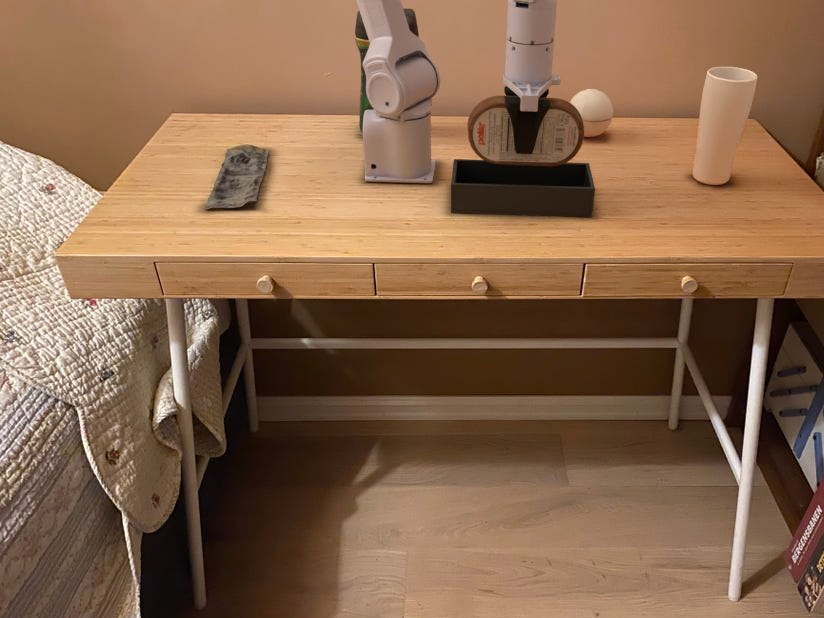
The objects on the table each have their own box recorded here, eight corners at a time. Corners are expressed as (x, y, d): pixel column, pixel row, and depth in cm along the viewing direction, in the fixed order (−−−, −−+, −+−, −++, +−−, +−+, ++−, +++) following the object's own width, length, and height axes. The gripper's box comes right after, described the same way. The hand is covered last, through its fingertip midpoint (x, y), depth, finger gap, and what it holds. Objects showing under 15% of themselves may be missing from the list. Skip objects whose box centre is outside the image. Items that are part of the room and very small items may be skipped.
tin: (580, 161, 105) (586, 96, 101) (582, 169, 102) (588, 103, 98) (466, 158, 105) (468, 93, 101) (466, 165, 102) (467, 99, 98)
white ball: (568, 144, 124) (572, 97, 120) (562, 127, 130) (566, 82, 126) (631, 144, 125) (637, 98, 121) (622, 128, 131) (628, 83, 127)
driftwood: (228, 150, 119) (226, 137, 118) (274, 150, 120) (273, 136, 118) (204, 213, 102) (201, 198, 101) (257, 212, 103) (255, 197, 102)
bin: (450, 213, 104) (450, 184, 101) (453, 186, 111) (453, 158, 108) (591, 217, 104) (595, 188, 101) (586, 190, 111) (589, 162, 108)
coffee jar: (358, 140, 123) (350, 14, 112) (362, 123, 130) (354, 1, 119) (420, 141, 124) (418, 15, 113) (421, 123, 130) (418, 2, 119)
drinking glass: (738, 175, 116) (762, 70, 107) (729, 192, 111) (754, 84, 102) (692, 166, 118) (712, 63, 110) (681, 182, 113) (701, 76, 105)
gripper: (567, 56, 89) (558, 171, 97) (559, 24, 101) (551, 129, 109) (505, 54, 89) (500, 169, 97) (504, 23, 101) (500, 127, 109)
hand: (523, 148), depth 103 cm, fingers closed on tin, 2 cm apart
